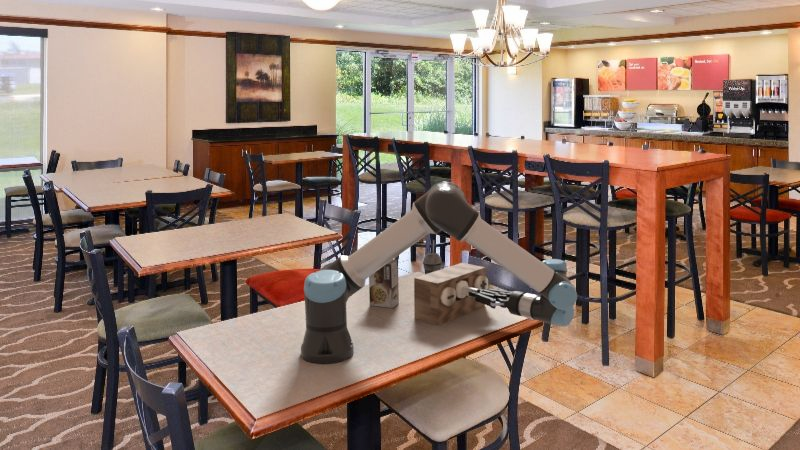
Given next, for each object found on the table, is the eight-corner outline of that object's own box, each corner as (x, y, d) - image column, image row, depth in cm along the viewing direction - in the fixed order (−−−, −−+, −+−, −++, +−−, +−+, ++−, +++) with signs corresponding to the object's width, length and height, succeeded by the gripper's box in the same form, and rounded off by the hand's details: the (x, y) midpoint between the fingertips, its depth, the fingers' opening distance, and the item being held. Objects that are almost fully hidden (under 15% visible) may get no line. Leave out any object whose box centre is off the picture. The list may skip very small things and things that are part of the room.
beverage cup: (419, 293, 242) (419, 241, 238) (427, 288, 248) (427, 237, 244) (437, 296, 238) (437, 243, 234) (445, 291, 244) (445, 239, 241)
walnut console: (443, 326, 207) (443, 284, 204) (414, 318, 215) (414, 277, 212) (490, 307, 225) (491, 268, 223) (462, 300, 234) (462, 262, 231)
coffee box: (399, 303, 231) (398, 259, 228) (392, 308, 225) (391, 263, 222) (376, 300, 235) (375, 257, 231) (368, 305, 229) (367, 261, 226)
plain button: (457, 300, 214) (457, 282, 213) (452, 299, 215) (452, 281, 214) (468, 296, 218) (468, 279, 217) (463, 295, 220) (463, 278, 219)
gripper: (512, 321, 196) (451, 305, 212) (535, 310, 205) (475, 296, 221) (512, 298, 194) (451, 283, 210) (535, 288, 204) (475, 275, 220)
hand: (463, 290), depth 216 cm, fingers closed
